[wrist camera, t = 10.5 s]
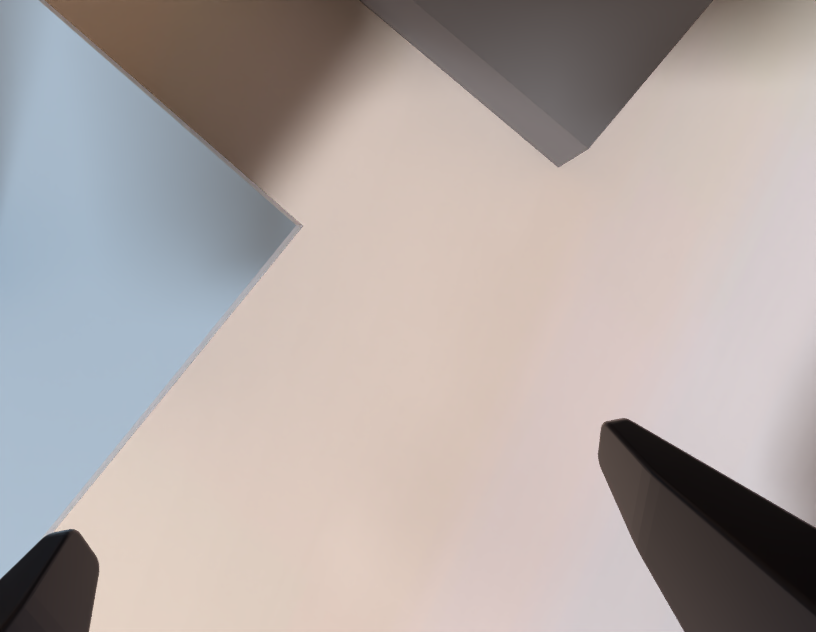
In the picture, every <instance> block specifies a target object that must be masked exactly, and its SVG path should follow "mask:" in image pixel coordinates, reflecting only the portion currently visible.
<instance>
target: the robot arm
mask: <svg viewBox="0 0 816 632" xmlns="http://www.w3.org/2000/svg"><path fill="white" fill-rule="evenodd" d="M598 459H599V464H600V467H601V469H602V472H603V474H604V476H605V478H606V481H607V483H608V485H609V488H610V490H611V492H612V494H613V497H614V499H615V501H616V503H617V506H618V508H619V510H620V512H621V515H622V517H623V519H624V521H625V524H626V526H627V528H628V530H629V533H630V535H631V537H632V539H633V541H634V543H635V545H636V548H637V549H638V551H639V553H640V555H641V557H642V559H643V560H644V562H645V564H646V566H647V567H648V569H649V571H650V573H651V574H652V576H653V578H654V580H655V581H656V583H657V585H658V587H659V588H660V590H661V592H662V594H663V595H664V597H665V599H666V601H667V602H668V604H669V606H670V607H671V609H672V611H673V613H674V614H675V616H676V618H677V620H678V621H679V623H680V625H681V627H682V628H683V630H684V632H816V528H815V527H813V526H812V525H810V524H808V523H806V522H805V521H803V520H801V519H800V518H798V517H796V516H794V515H793V514H791V513H789V512H788V511H786V510H784V509H782V508H781V507H779V506H777V505H775V504H774V503H772V502H770V501H769V500H767V499H765V498H763V497H762V496H760V495H758V494H757V493H755V492H753V491H751V490H750V489H748V488H746V487H745V486H743V485H741V484H739V483H738V482H736V481H734V480H732V479H731V478H729V477H727V476H726V475H724V474H722V473H720V472H719V471H717V470H715V469H714V468H712V467H710V466H708V465H707V464H705V463H703V462H702V461H700V460H698V459H696V458H695V457H693V456H691V455H689V454H688V453H686V452H684V451H683V450H681V449H679V448H677V447H676V446H674V445H672V444H671V443H669V442H667V441H665V440H664V439H662V438H660V437H658V436H657V435H655V434H653V433H652V432H650V431H648V430H646V429H645V428H643V427H641V426H640V425H638V424H636V423H634V422H633V421H631V420H629V419H626V418H621V419H616V420H611V421H606V422H604V423H603V425H602V427H601V433H600V442H599V450H598ZM98 576H99V562H98V559H97V557H96V555H95V554H94V552H93V551H92V550H91V548H90V547H89V545H88V544H87V542H86V541H85V540H84V538H83V537H82V535H81V534H80V533H79V532H78V531H76V530H74V529H69V530H64V531H59V532H54V533H50V534H48V535H46V536H45V537H43V538H42V539H41V540H40V541H39V542H38V543H37V544H36V545H35V546H34V547H33V548H32V549H31V550H30V551H29V552H28V553H27V554H25V555H24V556H23V557H22V558H21V559H20V560H19V561H18V562H17V563H16V564H15V565H14V566H13V567H12V568H11V569H10V570H9V571H8V572H7V573H6V574H5V575H4V576H3V577H2V578H1V579H0V632H89V628H90V622H91V617H92V611H93V605H94V599H95V593H96V587H97V582H98Z"/></svg>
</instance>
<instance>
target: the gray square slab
mask: <svg viewBox="0 0 816 632" xmlns="http://www.w3.org/2000/svg"><path fill="white" fill-rule="evenodd" d="M360 1H361V2H362V3H364V4H365V5H366V6H367V7H368V8H369V9H371V10H372V11H373V12H374V13H375V14H377V15H378V16H379V17H380V18H381V19H383V20H384V21H385V22H386V23H387V24H389V25H390V26H391V27H392V28H393V29H394V30H396V31H397V32H398V33H399V34H400V35H402V36H403V37H404V38H405V39H406V40H408V41H409V42H410V43H411V44H412V45H413V46H415V47H416V48H417V49H418V50H419V51H421V52H422V53H423V54H424V55H425V56H427V57H428V58H429V59H430V60H431V61H433V62H434V63H435V64H436V65H437V66H438V67H440V68H441V69H442V70H443V71H444V72H446V73H447V74H448V75H449V76H450V77H452V78H453V79H454V80H455V81H456V82H457V83H459V84H460V85H461V86H462V87H463V88H465V89H466V90H467V91H468V92H469V93H471V94H472V95H473V96H474V97H475V98H477V99H478V100H479V101H480V102H481V103H482V104H484V105H485V106H486V107H487V108H488V109H490V110H491V111H492V112H493V113H494V114H496V115H497V116H498V117H499V118H500V119H501V120H503V121H504V122H505V123H506V124H507V125H509V126H510V127H511V128H512V129H513V130H515V131H516V132H517V133H518V134H519V135H521V136H522V137H523V138H524V139H525V140H526V141H528V142H529V143H530V144H531V145H532V146H534V147H535V148H536V149H537V150H538V151H540V152H541V153H542V154H543V155H544V156H545V157H547V158H548V159H549V160H550V161H551V162H553V163H554V164H555V165H556V166H557V167H560V166H562V165H563V164H565V163H566V162H568V161H570V160H571V159H573V158H575V157H576V156H578V155H579V154H581V153H583V152H584V151H586V150H587V149H589V148H590V146H591V145H592V144H593V143H594V142H595V140H596V139H597V138H598V137H599V136H600V134H601V133H602V132H603V131H604V130H605V129H606V127H607V126H608V125H609V124H610V123H611V121H612V120H613V119H614V118H615V117H616V115H617V114H618V113H619V112H620V111H621V109H622V108H623V107H624V106H625V105H626V103H627V102H628V101H629V100H630V99H631V97H632V96H633V95H634V94H635V93H636V92H637V90H638V89H639V88H640V87H641V86H642V84H643V83H644V82H645V81H646V80H647V78H648V77H649V76H650V75H651V74H652V72H653V71H654V70H655V69H656V68H657V66H658V65H659V64H660V63H661V62H662V60H663V59H664V58H665V57H666V56H667V55H668V53H669V52H670V51H671V50H672V49H673V47H674V46H675V45H676V44H677V43H678V41H679V40H680V39H681V38H682V37H683V35H684V34H685V33H686V32H687V31H688V29H689V28H690V27H691V26H692V25H693V24H694V22H695V21H696V20H697V19H698V18H699V16H700V15H701V14H702V13H703V12H704V10H705V9H706V8H707V7H708V6H709V4H710V3H711V2H712V1H713V0H360Z"/></svg>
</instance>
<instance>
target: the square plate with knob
mask: <svg viewBox="0 0 816 632" xmlns="http://www.w3.org/2000/svg"><path fill="white" fill-rule="evenodd" d="M302 227H303V225H301V224H300V223H299V222H298V221H297V220H296V219H295V218H293V217H292V216H291V215H290V214H289V213H288V212H287V211H285V210H284V209H283V208H282V207H281V206H280V205H279V204H277V203H276V202H275V201H274V200H273V199H272V198H271V197H269V196H268V195H267V194H266V193H265V192H264V191H262V190H261V189H260V188H259V187H258V186H257V185H256V184H254V183H253V182H252V181H251V180H250V179H249V178H248V177H246V176H245V175H244V174H243V173H242V172H241V171H240V170H238V169H237V168H236V167H235V166H234V165H233V164H232V163H230V162H229V161H228V160H227V159H226V158H225V157H224V156H222V155H221V154H220V153H219V152H218V151H217V150H216V149H214V148H213V147H212V146H211V145H210V144H209V143H208V142H206V141H205V140H204V139H203V138H202V137H201V136H200V135H198V134H197V133H196V132H195V131H194V130H193V129H192V128H190V127H189V126H188V125H187V124H186V123H185V122H184V121H182V120H181V119H180V118H179V117H178V116H177V115H175V114H174V113H173V112H172V111H171V110H170V109H169V108H167V107H166V106H165V105H164V104H163V103H162V102H161V101H159V100H158V99H157V98H156V97H155V96H154V95H153V94H151V93H150V92H149V91H148V90H147V89H146V88H145V87H143V86H142V85H141V84H140V83H139V82H138V81H137V80H135V79H134V78H133V77H132V76H131V75H130V74H129V73H127V72H126V71H125V70H124V69H123V68H122V67H121V66H119V65H118V64H117V63H116V62H115V61H114V60H113V59H111V58H110V57H109V56H108V55H107V54H106V53H105V52H103V51H102V50H101V49H100V48H99V47H98V46H97V45H95V44H94V43H93V42H92V41H91V40H90V39H88V38H87V37H86V36H85V35H84V34H83V33H82V32H80V31H79V30H78V29H77V28H76V27H75V26H74V25H72V24H71V23H70V22H69V21H68V20H67V19H66V18H64V17H63V16H62V15H61V14H60V13H59V12H58V11H56V10H55V9H54V8H53V7H52V6H51V5H50V4H48V3H47V2H46V1H45V0H0V579H1V578H2V577H3V576H4V575H5V574H6V573H7V572H8V571H9V570H10V569H11V568H12V567H13V566H14V565H15V564H16V563H17V562H18V561H19V560H20V559H21V558H22V557H23V556H24V555H25V554H27V553H28V552H29V551H30V550H31V549H32V548H33V547H34V546H35V545H36V544H37V543H38V542H39V541H40V540H41V539H42V538H43V537H45V536H46V535H48V534H50V533H53V532H54V530H55V529H56V528H57V527H58V525H59V524H60V523H61V522H62V521H63V519H64V518H65V517H66V516H67V514H68V513H69V512H70V511H71V510H72V508H73V507H74V506H75V505H76V503H77V502H78V501H79V500H80V499H81V497H82V496H83V495H84V494H85V492H86V491H87V490H88V489H89V488H90V486H91V485H92V484H93V483H94V481H95V480H96V479H97V478H98V477H99V475H100V474H101V473H102V472H103V470H104V469H105V468H106V467H107V465H108V464H109V463H110V462H111V461H112V459H113V458H114V457H115V456H116V454H117V453H118V452H119V451H120V450H121V448H122V447H123V446H124V445H125V443H126V442H127V441H128V440H129V439H130V437H131V436H132V435H133V434H134V432H135V431H136V430H137V429H138V428H139V426H140V425H141V424H142V423H143V421H144V420H145V419H146V418H147V416H148V415H149V414H150V413H151V412H152V410H153V409H154V408H155V407H156V405H157V404H158V403H159V402H160V401H161V399H162V398H163V397H164V396H165V394H166V393H167V392H168V391H169V390H170V388H171V387H172V386H173V385H174V383H175V382H176V381H177V380H178V379H179V377H180V376H181V375H182V374H183V372H184V371H185V370H186V369H187V368H188V366H189V365H190V364H191V363H192V361H193V360H194V359H195V358H196V356H197V355H198V354H199V353H200V352H201V350H202V349H203V348H204V347H205V345H206V344H207V343H208V342H209V341H210V339H211V338H212V337H213V336H214V334H215V333H216V332H217V331H218V330H219V328H220V327H221V326H222V325H223V323H224V322H225V321H226V320H227V319H228V317H229V316H230V315H231V314H232V312H233V311H234V310H235V309H236V307H237V306H238V305H239V304H240V303H241V301H242V300H243V299H244V298H245V296H246V295H247V294H248V293H249V292H250V290H251V289H252V288H253V287H254V285H255V284H256V283H257V282H258V281H259V279H260V278H261V277H262V276H263V274H264V273H265V272H266V271H267V270H268V268H269V267H270V266H271V265H272V263H273V262H274V261H275V260H276V259H277V257H278V256H279V255H280V254H281V252H282V251H283V250H284V249H285V247H286V246H287V245H288V244H289V243H290V241H291V240H292V239H293V238H294V236H295V235H296V234H297V233H298V232H299V230H300V229H301V228H302Z"/></svg>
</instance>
